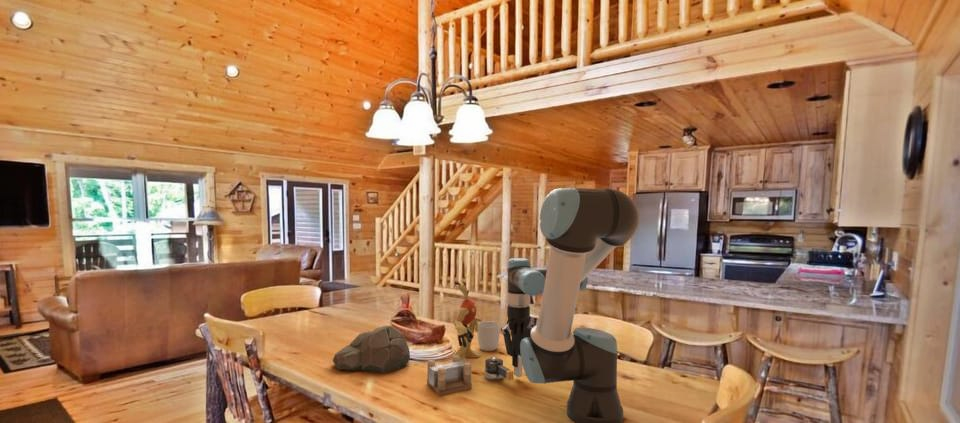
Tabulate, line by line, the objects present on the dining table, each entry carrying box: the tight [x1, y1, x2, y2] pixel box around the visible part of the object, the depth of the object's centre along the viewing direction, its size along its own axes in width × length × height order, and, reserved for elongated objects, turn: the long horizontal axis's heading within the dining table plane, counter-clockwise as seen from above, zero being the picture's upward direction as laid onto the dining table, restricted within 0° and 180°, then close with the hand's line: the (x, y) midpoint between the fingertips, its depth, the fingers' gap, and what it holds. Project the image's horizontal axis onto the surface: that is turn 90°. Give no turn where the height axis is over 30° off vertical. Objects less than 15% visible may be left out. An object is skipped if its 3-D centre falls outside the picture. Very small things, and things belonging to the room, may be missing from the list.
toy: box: [453, 281, 483, 363], centre depth 154 cm, size 23×9×30 cm, turn 168°
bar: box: [429, 360, 466, 387], centre depth 134 cm, size 4×12×5 cm, turn 120°
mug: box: [476, 320, 501, 352], centre depth 173 cm, size 13×9×10 cm
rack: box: [426, 354, 473, 396], centre depth 134 cm, size 10×11×8 cm
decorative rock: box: [332, 325, 411, 374], centre depth 154 cm, size 27×22×15 cm
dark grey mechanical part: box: [484, 356, 514, 381], centre depth 139 cm, size 13×6×4 cm, turn 31°
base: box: [484, 370, 504, 382], centre depth 142 cm, size 6×6×2 cm
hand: (518, 375), depth 139 cm, fingers closed
